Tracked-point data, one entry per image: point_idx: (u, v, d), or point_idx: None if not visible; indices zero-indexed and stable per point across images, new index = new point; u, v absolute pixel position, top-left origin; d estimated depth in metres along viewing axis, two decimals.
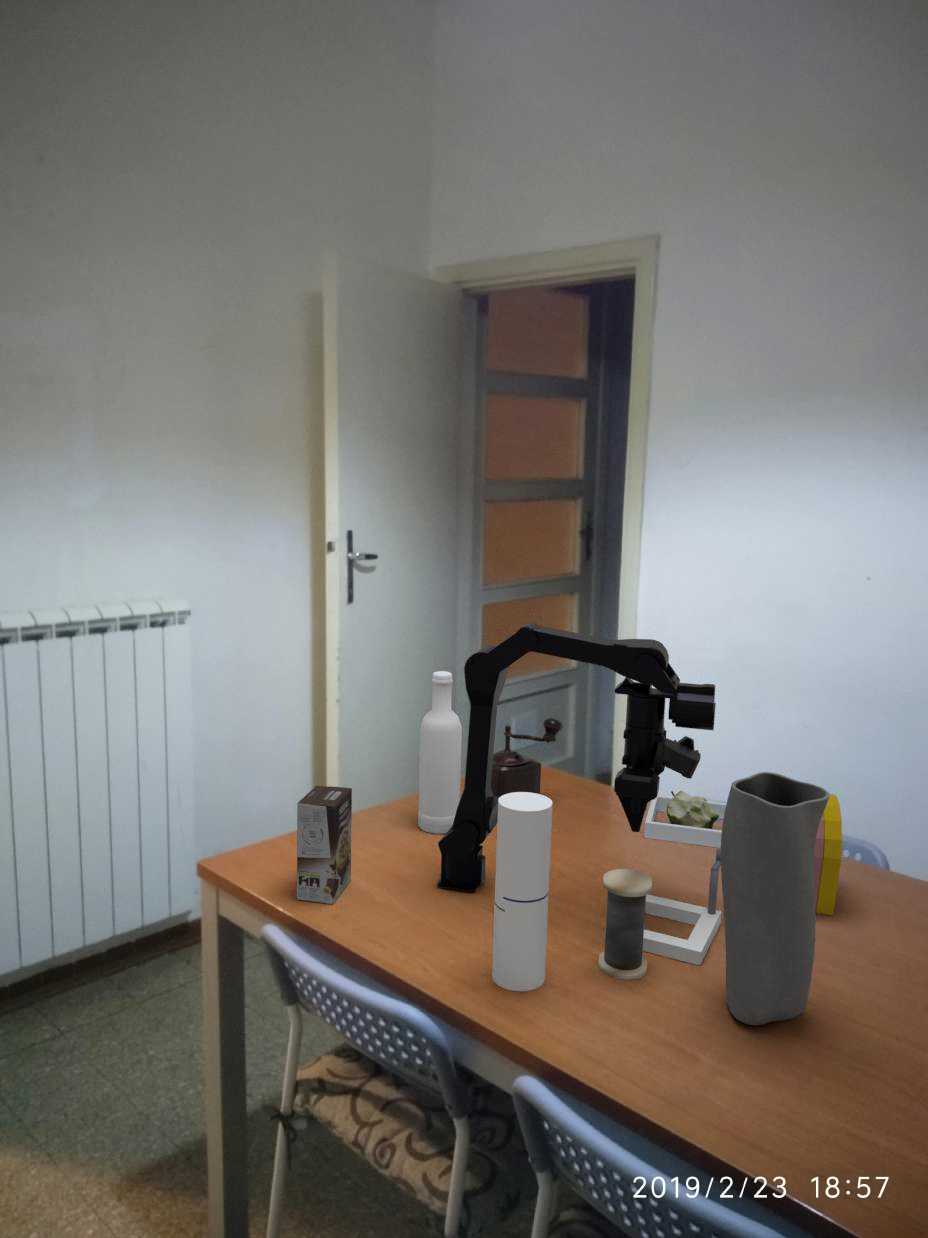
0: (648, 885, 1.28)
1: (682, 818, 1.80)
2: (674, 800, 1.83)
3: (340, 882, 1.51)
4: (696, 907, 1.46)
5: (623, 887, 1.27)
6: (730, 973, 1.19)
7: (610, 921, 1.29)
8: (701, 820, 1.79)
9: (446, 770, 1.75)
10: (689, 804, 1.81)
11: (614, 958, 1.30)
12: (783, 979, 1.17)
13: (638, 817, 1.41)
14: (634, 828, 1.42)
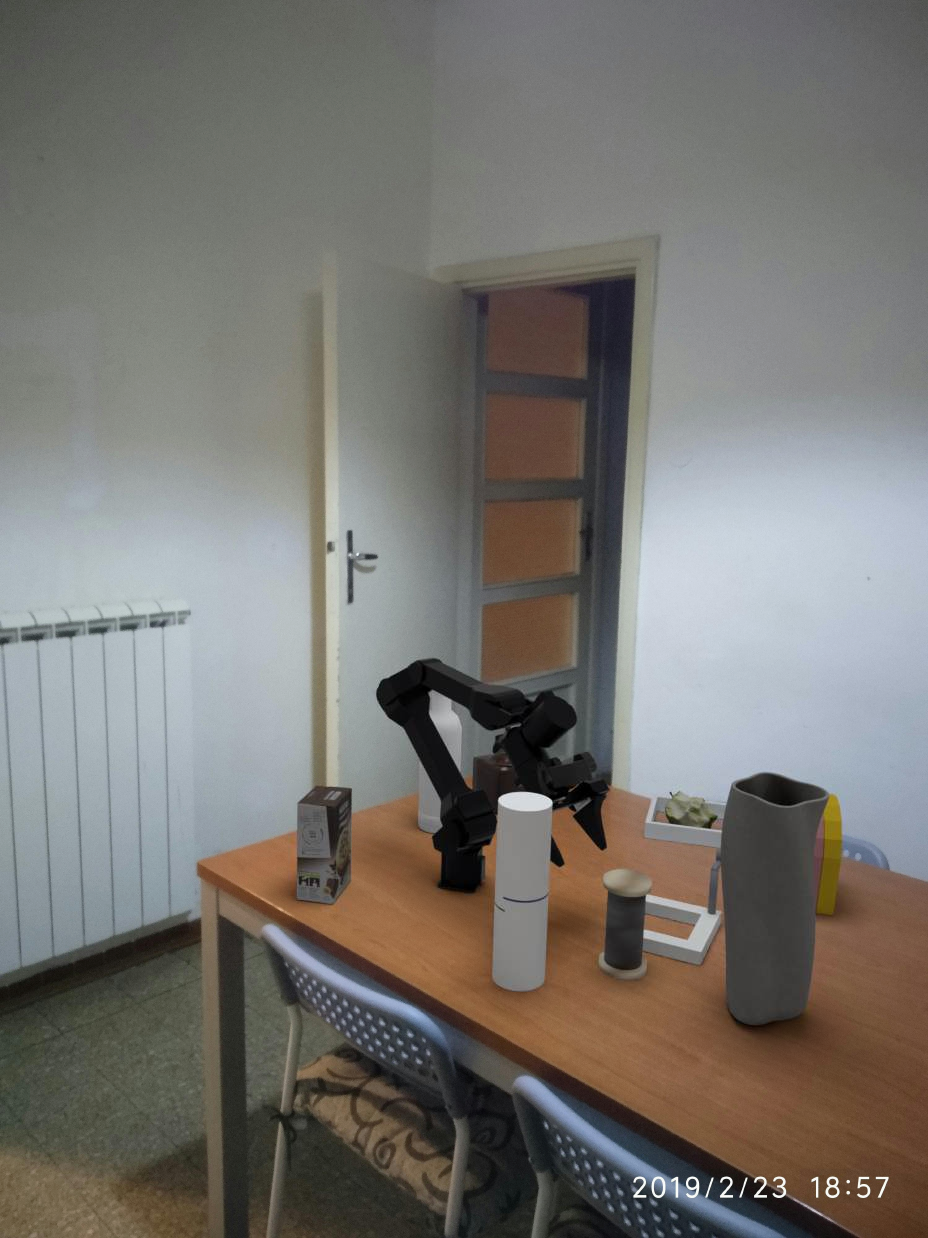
0: (648, 885, 1.28)
1: (681, 819, 1.79)
2: (673, 801, 1.83)
3: (340, 882, 1.51)
4: (696, 907, 1.46)
5: (624, 887, 1.27)
6: (730, 973, 1.19)
7: (610, 921, 1.29)
8: (700, 820, 1.79)
9: None
10: (687, 805, 1.81)
11: (614, 958, 1.30)
12: (783, 979, 1.17)
13: None
14: (557, 863, 1.33)
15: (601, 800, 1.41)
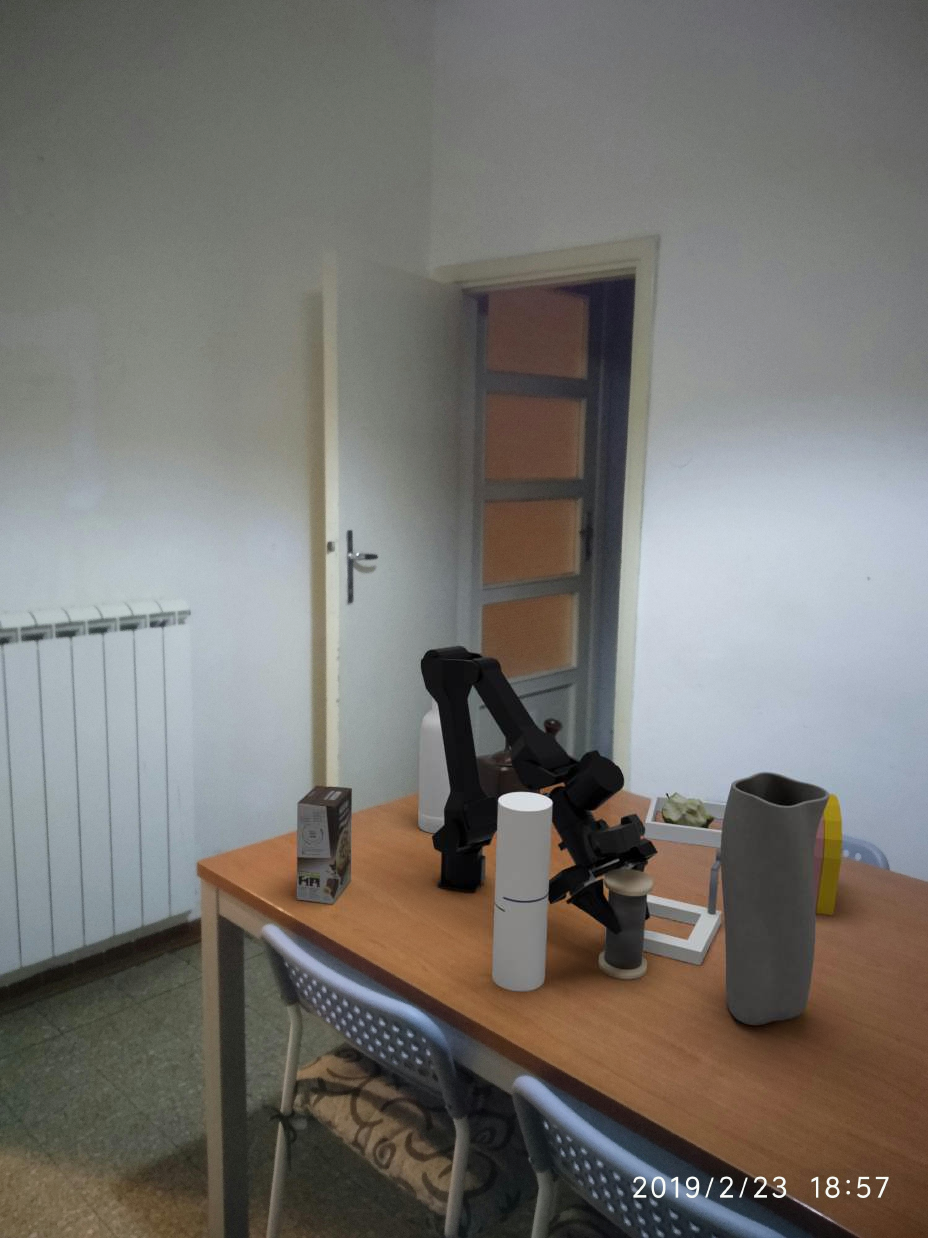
0: (649, 885, 1.28)
1: (678, 820, 1.78)
2: (669, 802, 1.82)
3: (340, 882, 1.51)
4: (696, 907, 1.46)
5: (625, 886, 1.27)
6: (730, 973, 1.19)
7: None
8: (697, 822, 1.78)
9: (446, 770, 1.75)
10: (684, 806, 1.80)
11: (614, 957, 1.30)
12: (783, 979, 1.17)
13: (605, 916, 1.28)
14: (614, 930, 1.28)
15: (643, 867, 1.34)
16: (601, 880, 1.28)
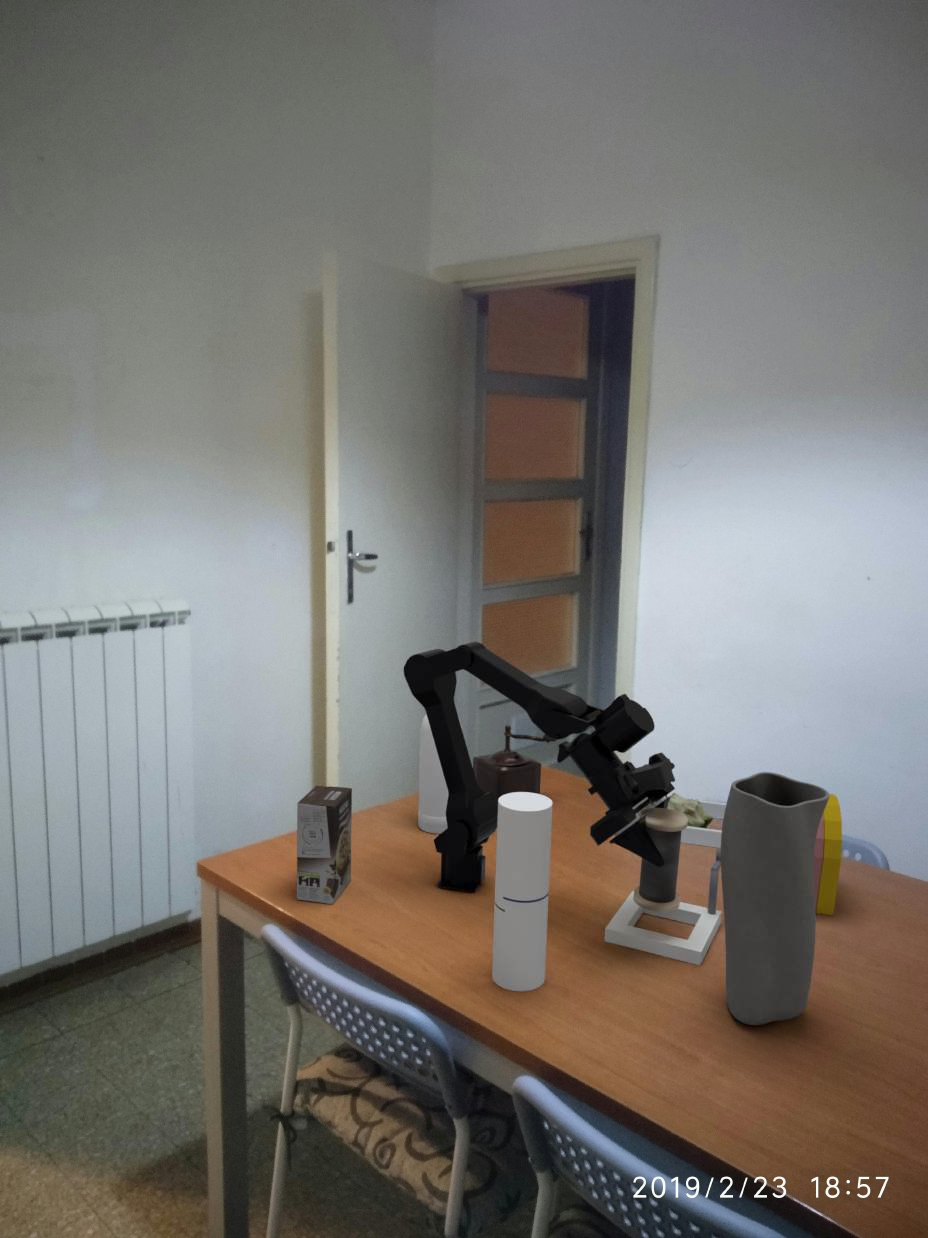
0: (685, 820, 1.34)
1: None
2: None
3: (340, 882, 1.51)
4: (696, 907, 1.46)
5: (666, 823, 1.33)
6: (730, 973, 1.19)
7: None
8: (695, 823, 1.77)
9: None
10: (682, 807, 1.79)
11: (654, 892, 1.35)
12: (783, 979, 1.17)
13: (649, 850, 1.33)
14: (657, 863, 1.33)
15: (667, 803, 1.40)
16: (645, 816, 1.33)
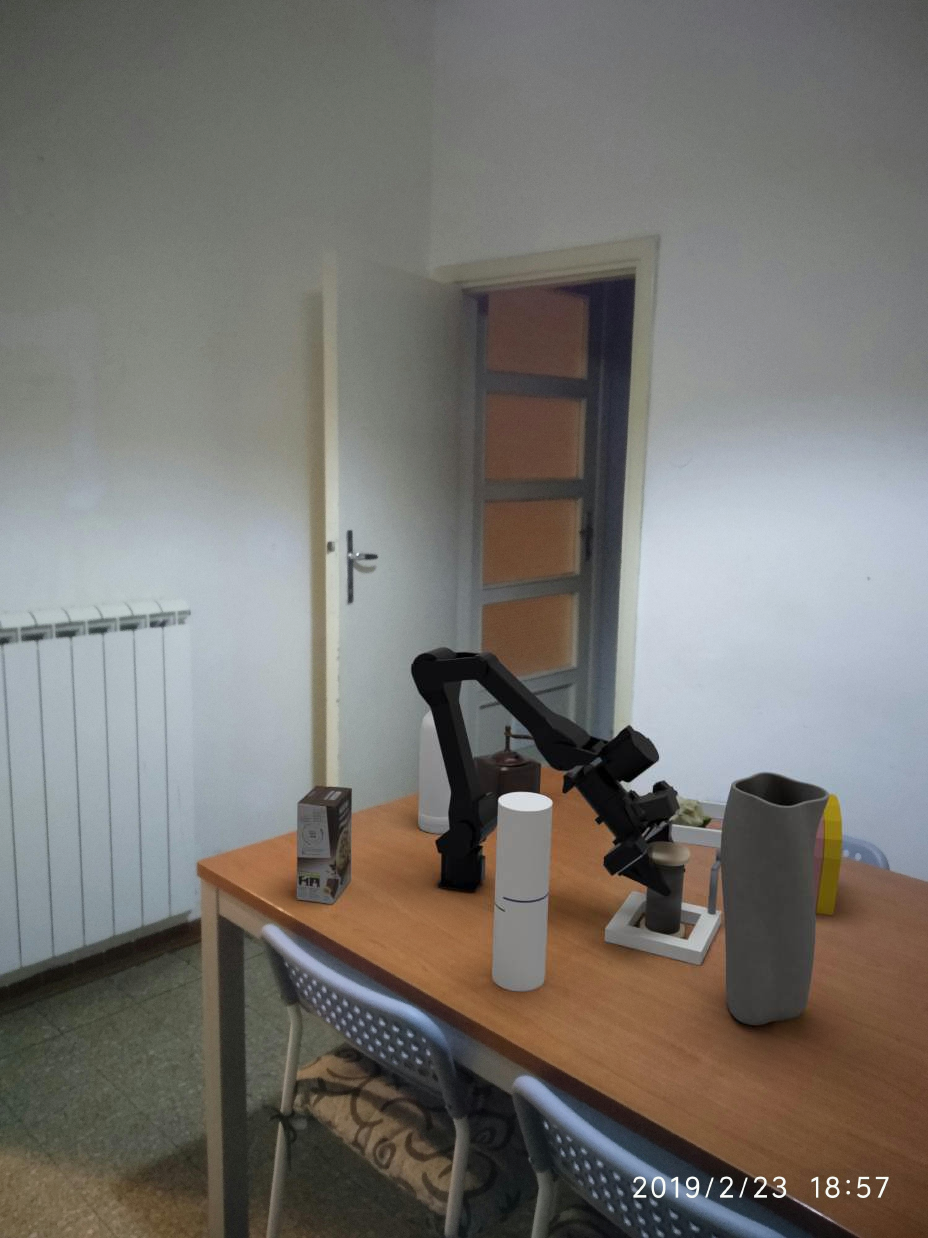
0: (688, 853, 1.39)
1: (674, 821, 1.78)
2: None
3: (340, 882, 1.51)
4: (696, 907, 1.46)
5: (671, 858, 1.37)
6: (730, 973, 1.19)
7: None
8: (693, 823, 1.77)
9: None
10: (681, 807, 1.80)
11: (661, 925, 1.39)
12: (783, 979, 1.17)
13: (657, 881, 1.36)
14: (664, 893, 1.36)
15: (671, 826, 1.46)
16: (652, 848, 1.36)
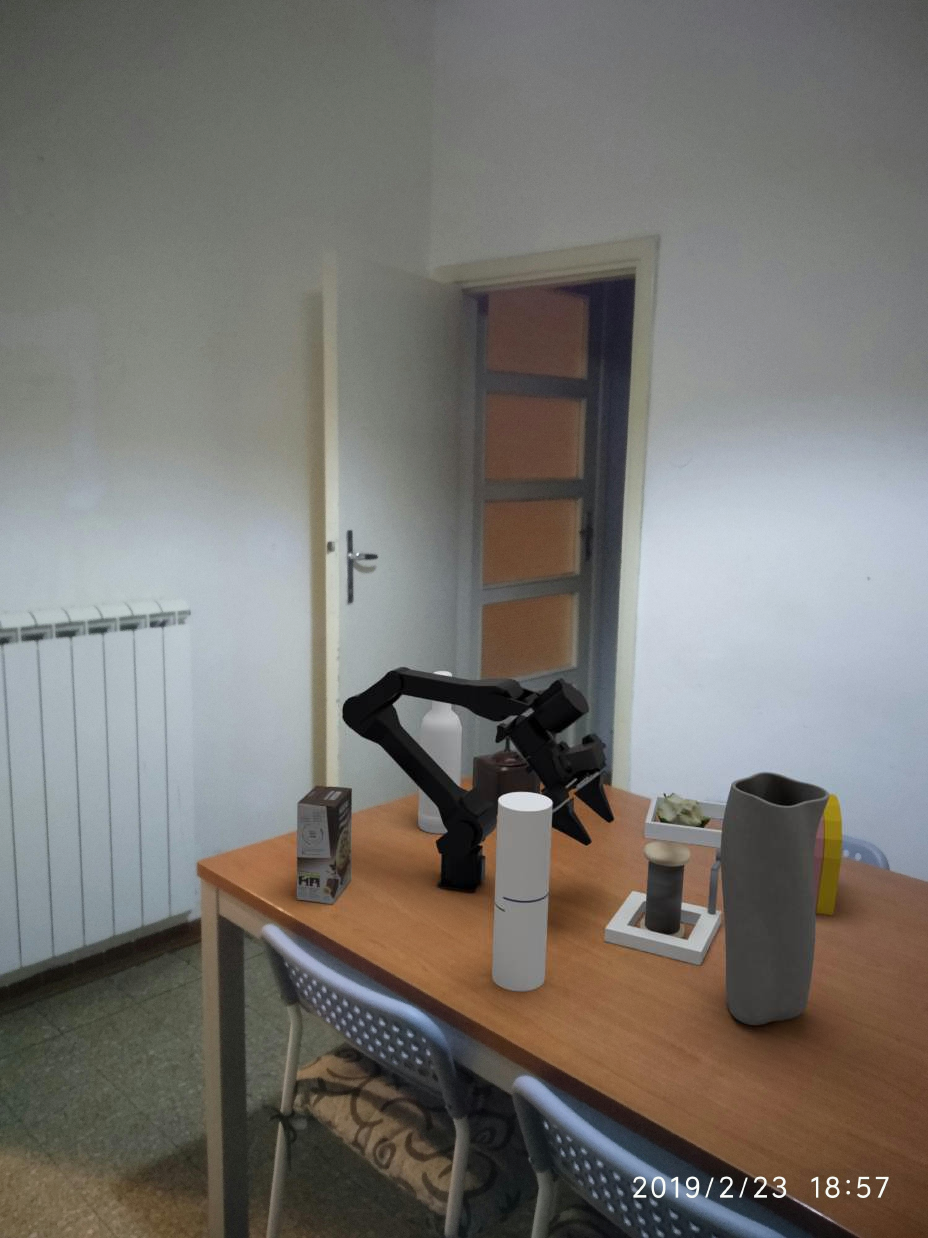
0: (688, 853, 1.39)
1: (672, 820, 1.78)
2: (665, 802, 1.82)
3: (340, 882, 1.51)
4: (696, 907, 1.46)
5: (671, 858, 1.37)
6: (730, 973, 1.19)
7: (656, 891, 1.39)
8: (691, 823, 1.77)
9: (446, 770, 1.75)
10: (679, 807, 1.80)
11: (661, 925, 1.39)
12: (783, 979, 1.17)
13: (577, 830, 1.40)
14: (585, 842, 1.41)
15: (603, 776, 1.50)
16: (573, 798, 1.40)
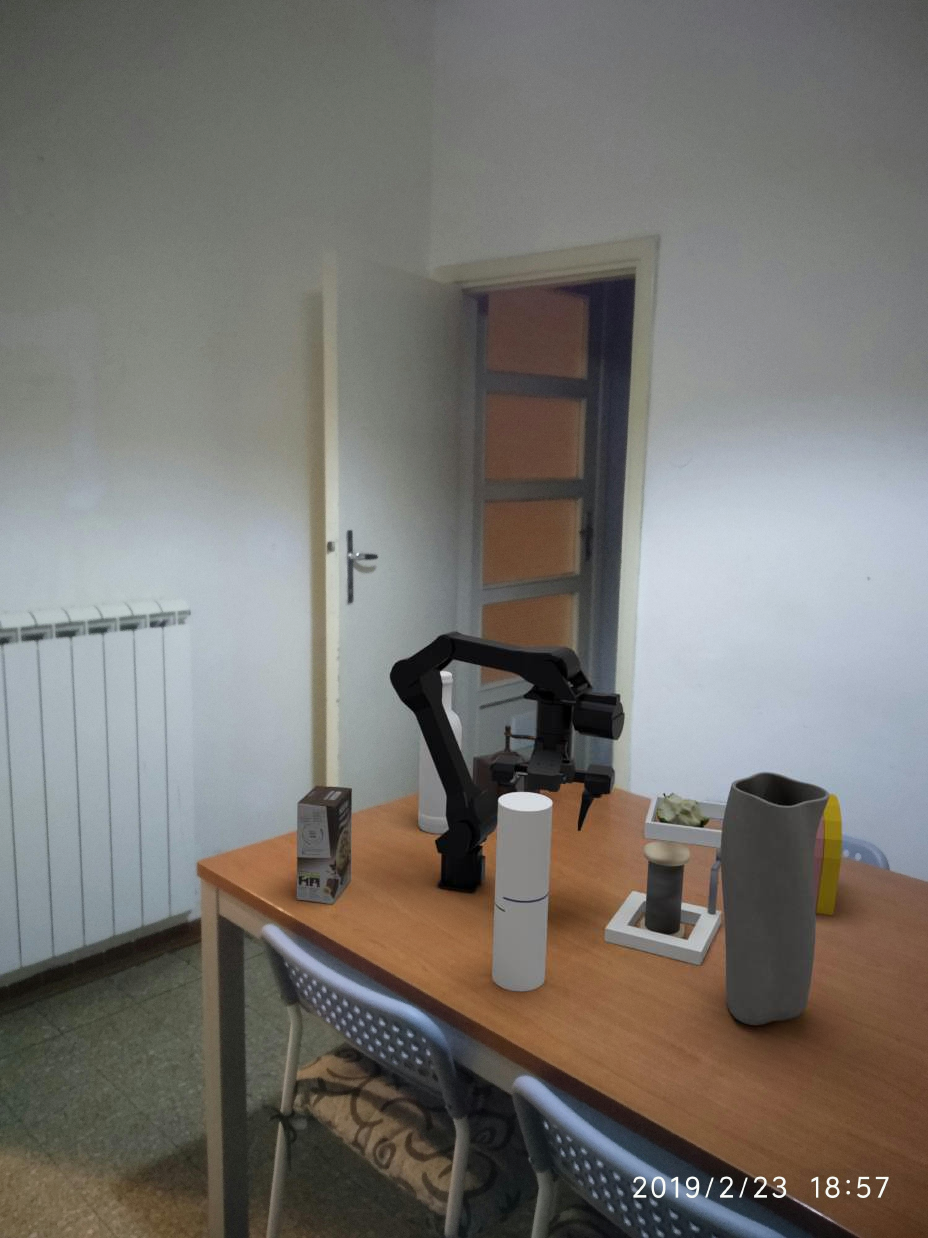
0: (688, 853, 1.39)
1: (671, 820, 1.78)
2: (665, 802, 1.82)
3: (340, 882, 1.51)
4: (696, 907, 1.46)
5: (671, 858, 1.37)
6: (730, 973, 1.19)
7: (656, 891, 1.39)
8: (690, 823, 1.77)
9: None
10: (678, 807, 1.80)
11: (661, 925, 1.39)
12: (783, 979, 1.17)
13: None
14: None
15: (591, 798, 1.43)
16: (513, 786, 1.45)
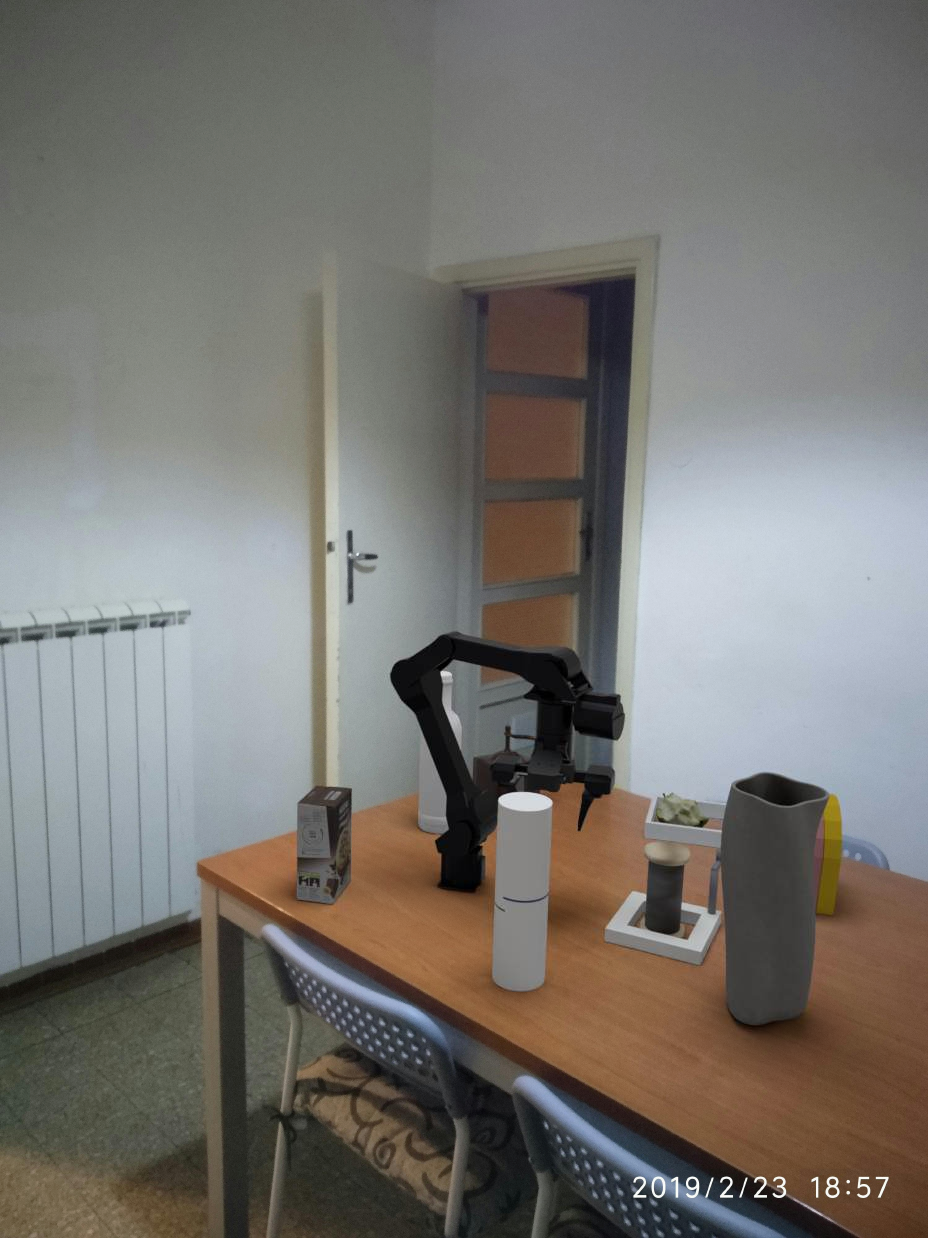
0: (688, 853, 1.39)
1: (670, 820, 1.78)
2: (664, 802, 1.82)
3: (340, 882, 1.51)
4: (696, 907, 1.46)
5: (671, 858, 1.37)
6: (730, 973, 1.19)
7: (656, 891, 1.39)
8: (689, 823, 1.77)
9: None
10: (678, 806, 1.80)
11: (661, 925, 1.39)
12: (783, 979, 1.17)
13: None
14: None
15: (591, 798, 1.43)
16: (513, 787, 1.45)
